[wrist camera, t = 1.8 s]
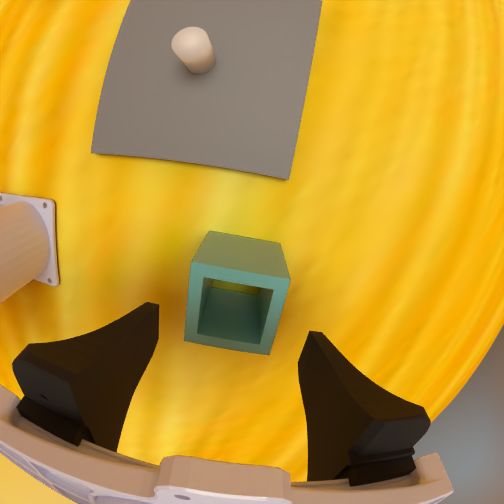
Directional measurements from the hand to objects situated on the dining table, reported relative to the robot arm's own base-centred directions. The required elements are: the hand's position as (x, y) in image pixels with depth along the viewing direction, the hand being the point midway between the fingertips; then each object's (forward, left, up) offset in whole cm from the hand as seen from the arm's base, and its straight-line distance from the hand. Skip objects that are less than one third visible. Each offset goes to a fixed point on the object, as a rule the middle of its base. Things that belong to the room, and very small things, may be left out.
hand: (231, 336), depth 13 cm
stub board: (-5, +14, -8) cm, 17 cm away
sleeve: (0, 0, -8) cm, 8 cm away
